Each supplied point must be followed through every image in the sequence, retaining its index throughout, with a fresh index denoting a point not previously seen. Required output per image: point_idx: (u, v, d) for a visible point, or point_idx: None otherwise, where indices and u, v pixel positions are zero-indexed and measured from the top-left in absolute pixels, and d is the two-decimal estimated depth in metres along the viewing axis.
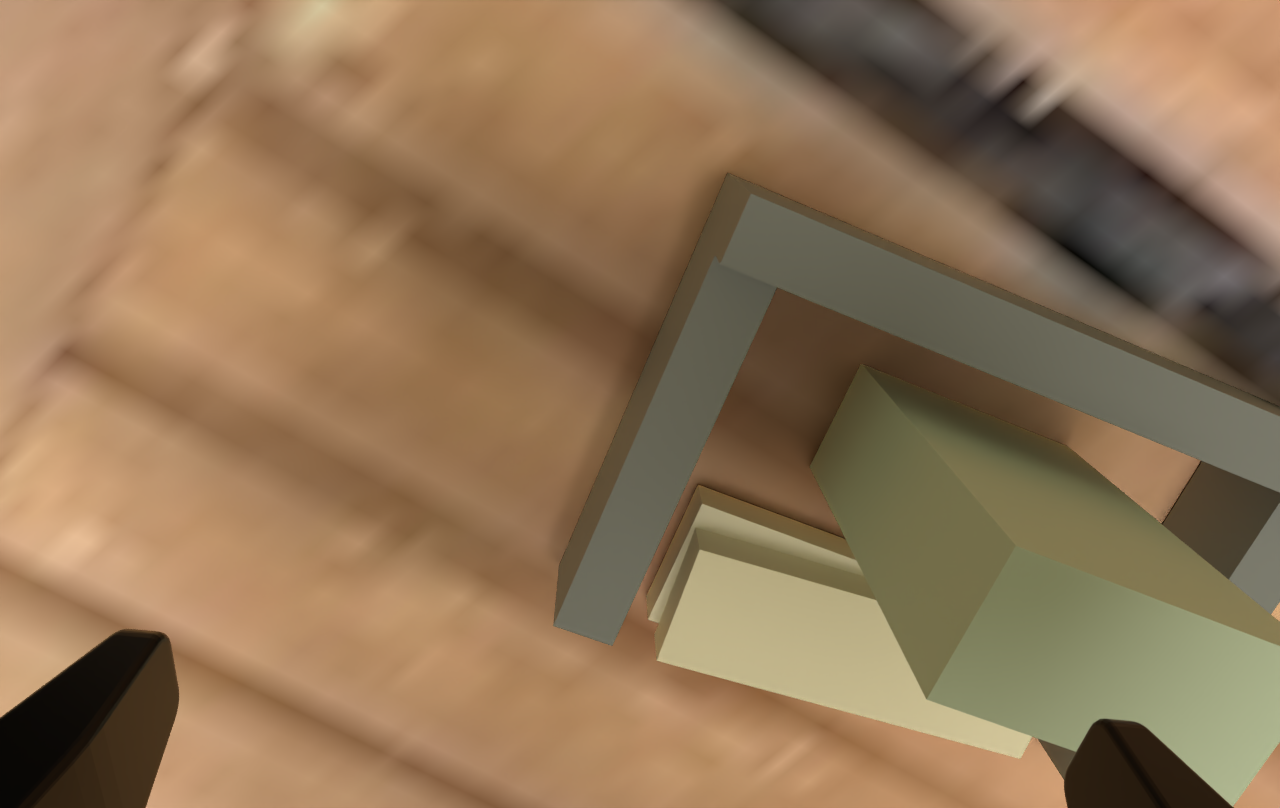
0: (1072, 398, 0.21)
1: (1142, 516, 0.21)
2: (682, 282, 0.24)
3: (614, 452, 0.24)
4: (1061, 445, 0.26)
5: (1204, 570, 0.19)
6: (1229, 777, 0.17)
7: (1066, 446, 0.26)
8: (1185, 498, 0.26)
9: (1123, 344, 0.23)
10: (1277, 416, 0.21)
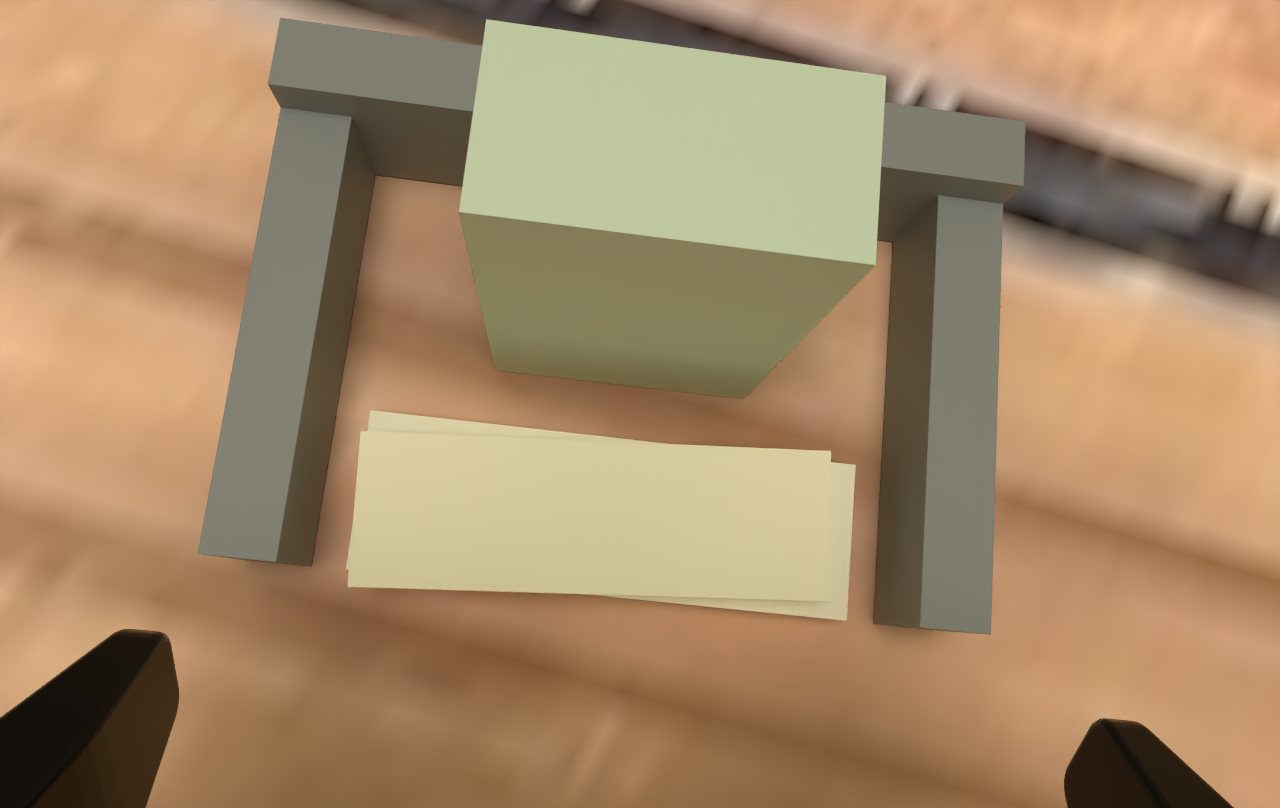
0: None
1: None
2: None
3: None
4: None
5: None
6: (850, 229, 0.14)
7: None
8: (892, 298, 0.25)
9: None
10: None
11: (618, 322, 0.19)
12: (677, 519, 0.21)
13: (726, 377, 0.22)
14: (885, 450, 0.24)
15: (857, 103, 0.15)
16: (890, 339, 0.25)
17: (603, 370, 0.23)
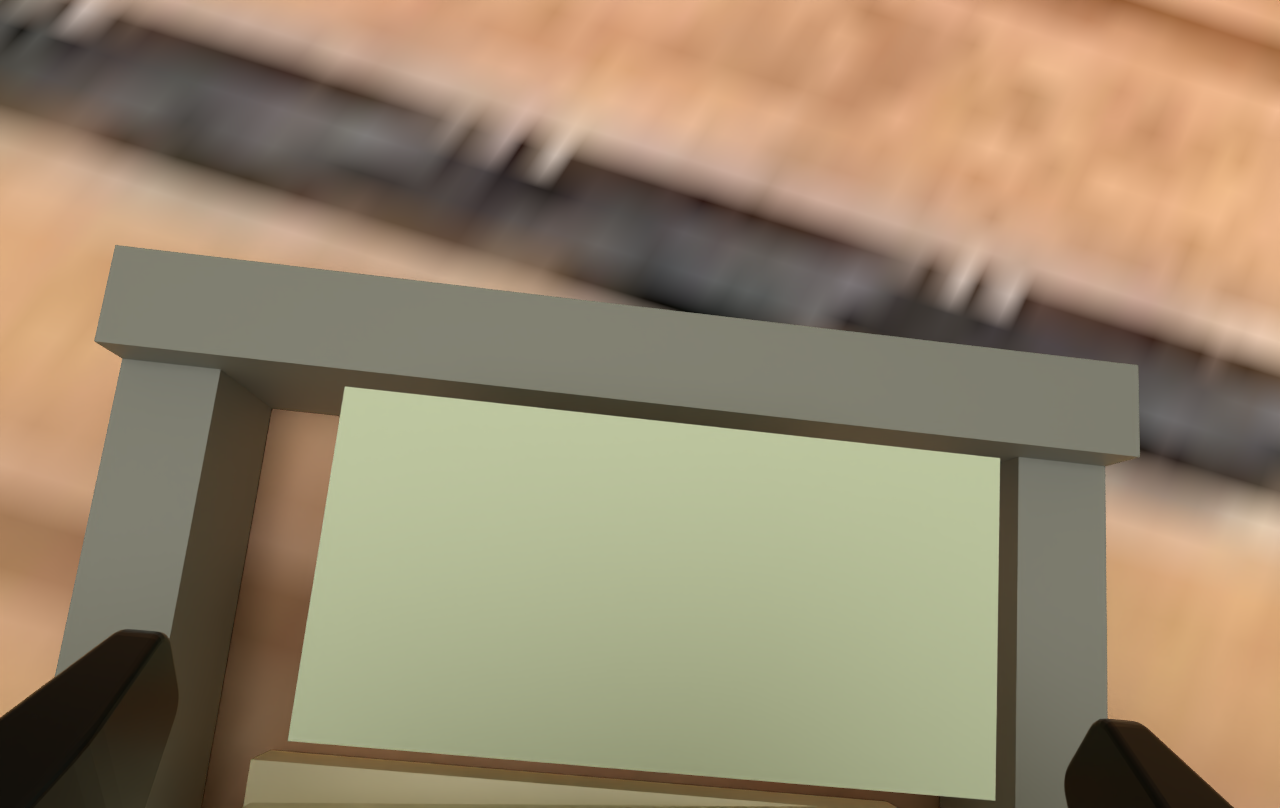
0: (643, 390, 0.15)
1: None
2: None
3: None
4: None
5: None
6: (951, 735, 0.09)
7: None
8: None
9: None
10: (923, 342, 0.16)
11: None
12: None
13: None
14: None
15: (955, 508, 0.09)
16: None
17: None
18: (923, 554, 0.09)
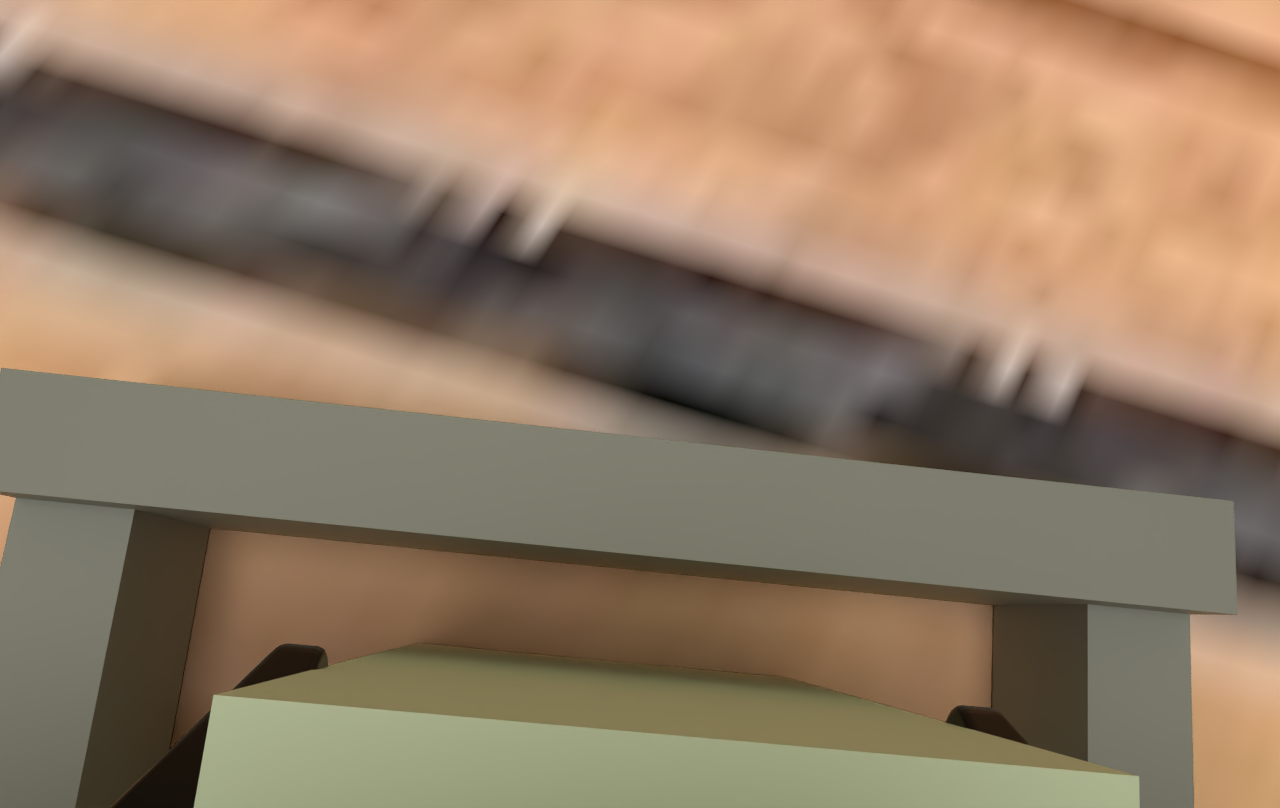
0: (641, 540, 0.13)
1: (838, 699, 0.12)
2: None
3: None
4: (771, 676, 0.16)
5: (902, 720, 0.09)
6: None
7: (781, 677, 0.16)
8: (998, 702, 0.16)
9: None
10: (978, 475, 0.13)
11: None
12: None
13: None
14: None
15: None
16: None
17: None
18: None
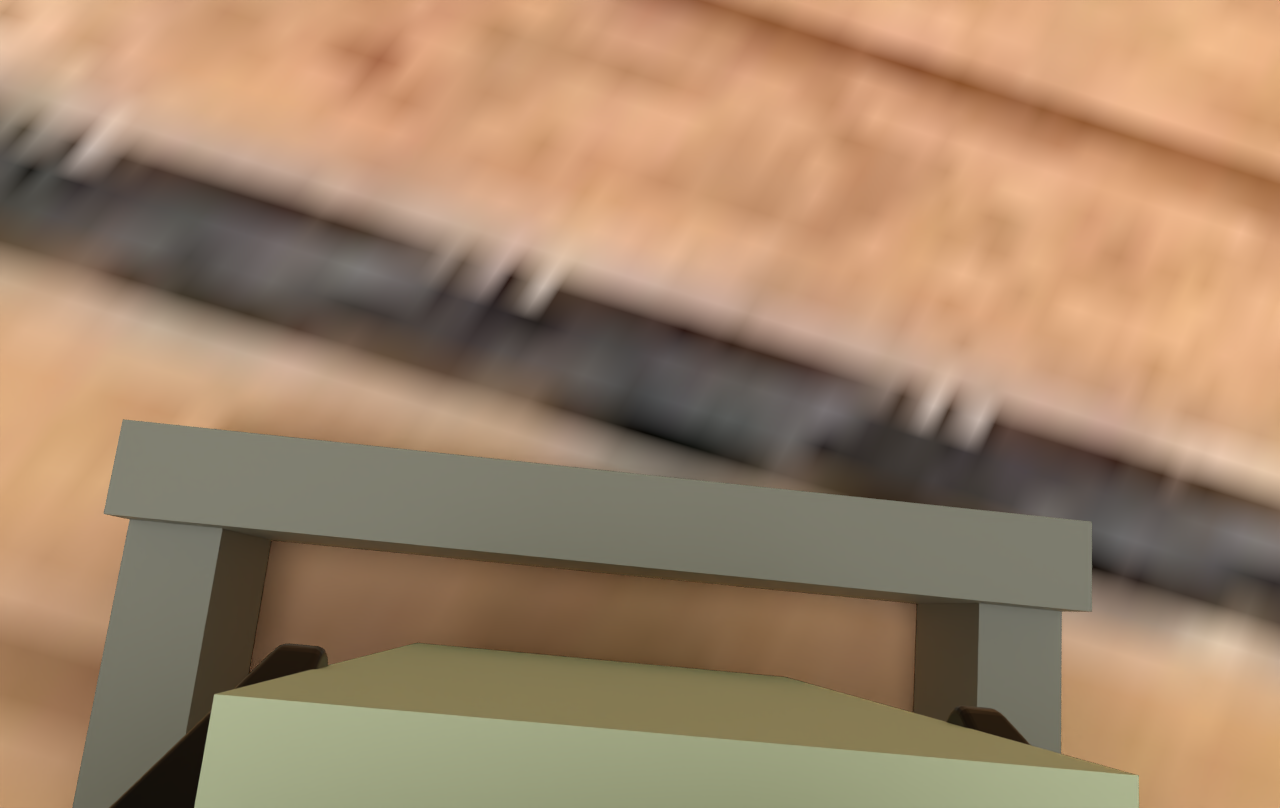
0: (621, 553, 0.16)
1: (837, 699, 0.12)
2: None
3: None
4: (771, 676, 0.16)
5: (901, 720, 0.09)
6: None
7: None
8: (918, 683, 0.20)
9: None
10: (888, 501, 0.17)
11: None
12: None
13: None
14: None
15: None
16: None
17: None
18: None
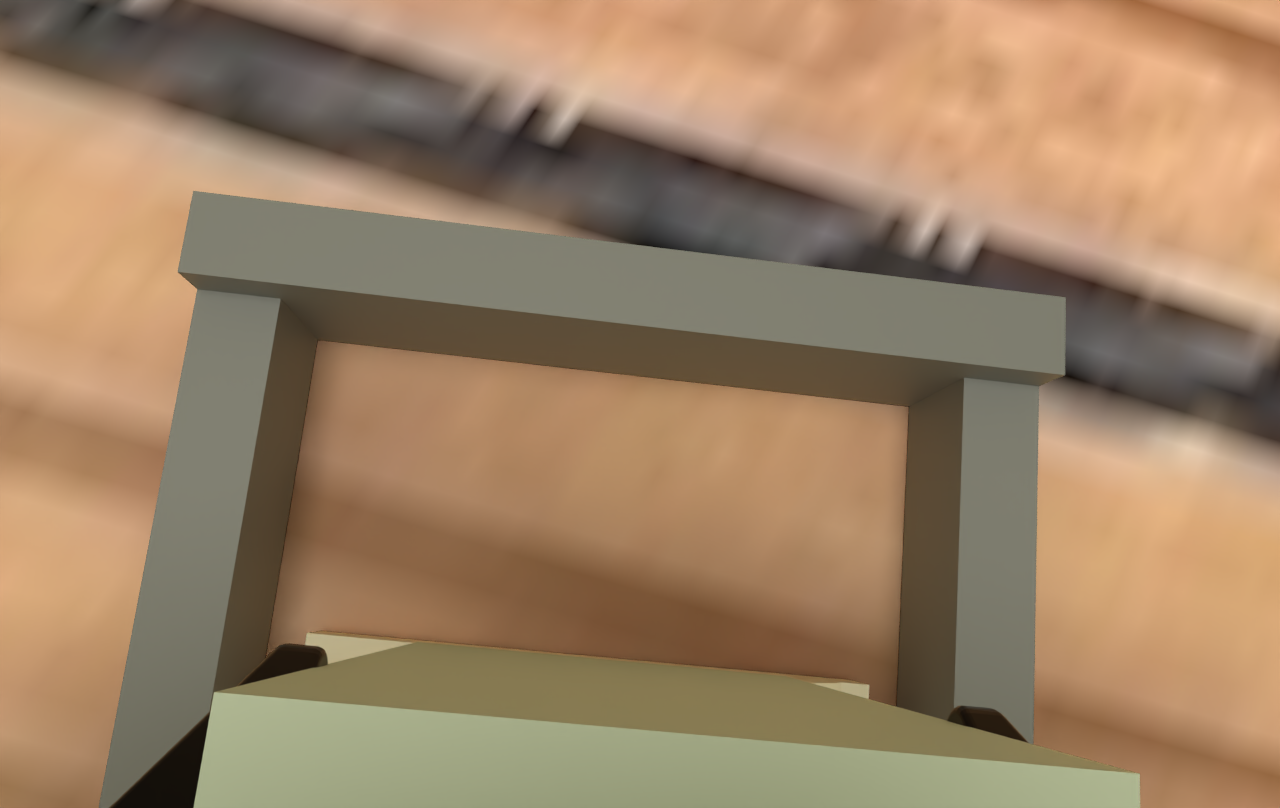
0: (641, 315, 0.18)
1: (838, 698, 0.12)
2: None
3: None
4: (771, 675, 0.16)
5: (902, 718, 0.09)
6: None
7: None
8: (909, 475, 0.22)
9: None
10: (881, 276, 0.19)
11: None
12: None
13: None
14: (903, 656, 0.21)
15: None
16: (908, 524, 0.21)
17: None
18: None
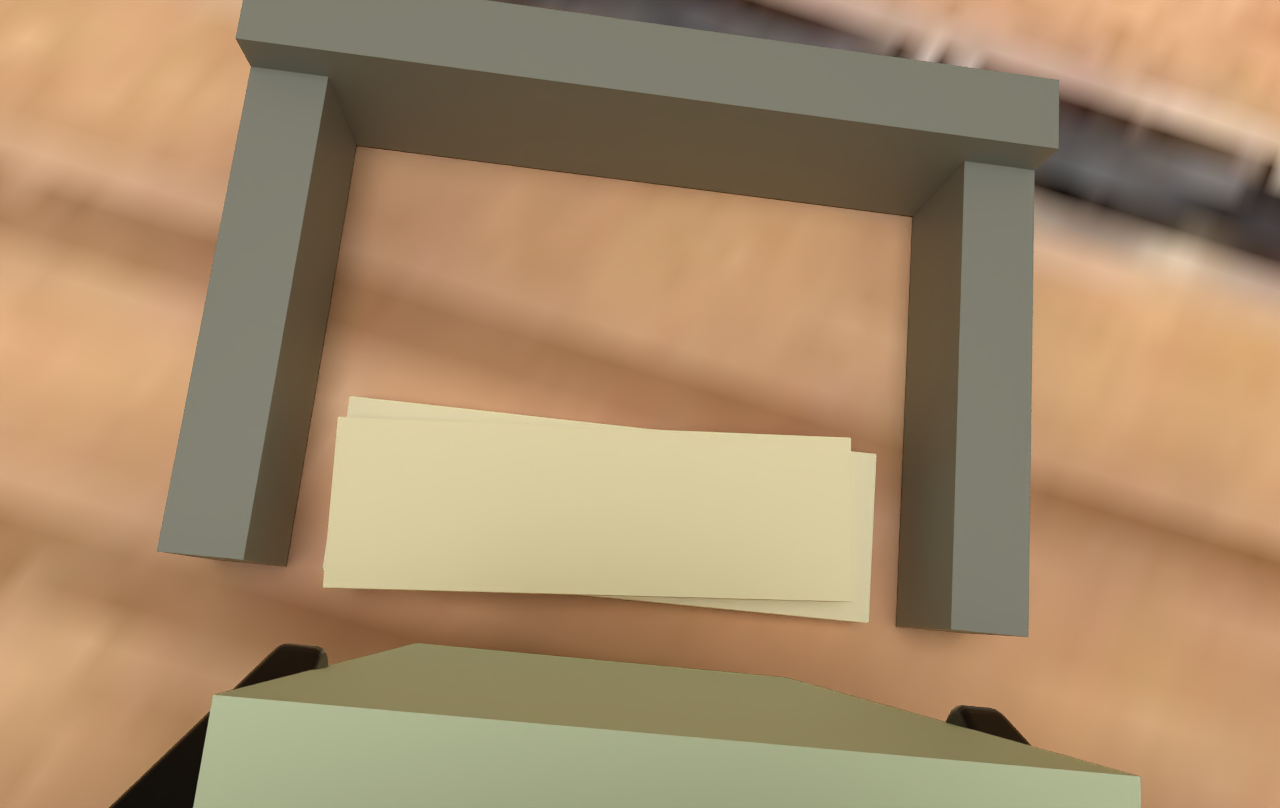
0: (664, 87, 0.19)
1: (838, 699, 0.12)
2: None
3: None
4: (771, 677, 0.16)
5: (902, 720, 0.09)
6: None
7: (781, 677, 0.16)
8: (913, 276, 0.23)
9: None
10: (887, 58, 0.20)
11: None
12: (684, 512, 0.19)
13: None
14: (908, 439, 0.22)
15: None
16: (911, 320, 0.23)
17: None
18: None
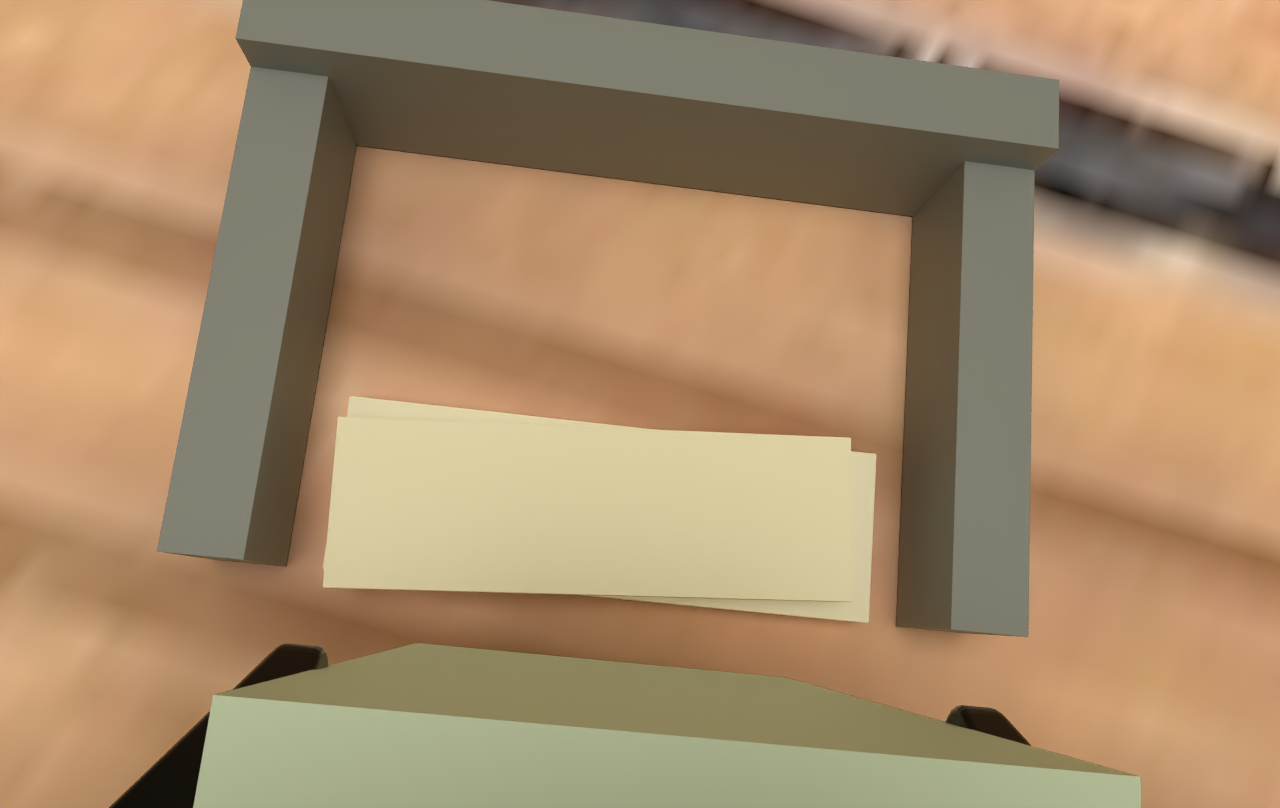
0: (664, 87, 0.19)
1: (838, 699, 0.12)
2: None
3: None
4: (771, 677, 0.16)
5: (902, 720, 0.09)
6: None
7: (781, 677, 0.16)
8: (913, 276, 0.23)
9: None
10: (887, 58, 0.20)
11: None
12: (684, 512, 0.19)
13: None
14: (908, 439, 0.22)
15: None
16: (911, 320, 0.23)
17: None
18: None
